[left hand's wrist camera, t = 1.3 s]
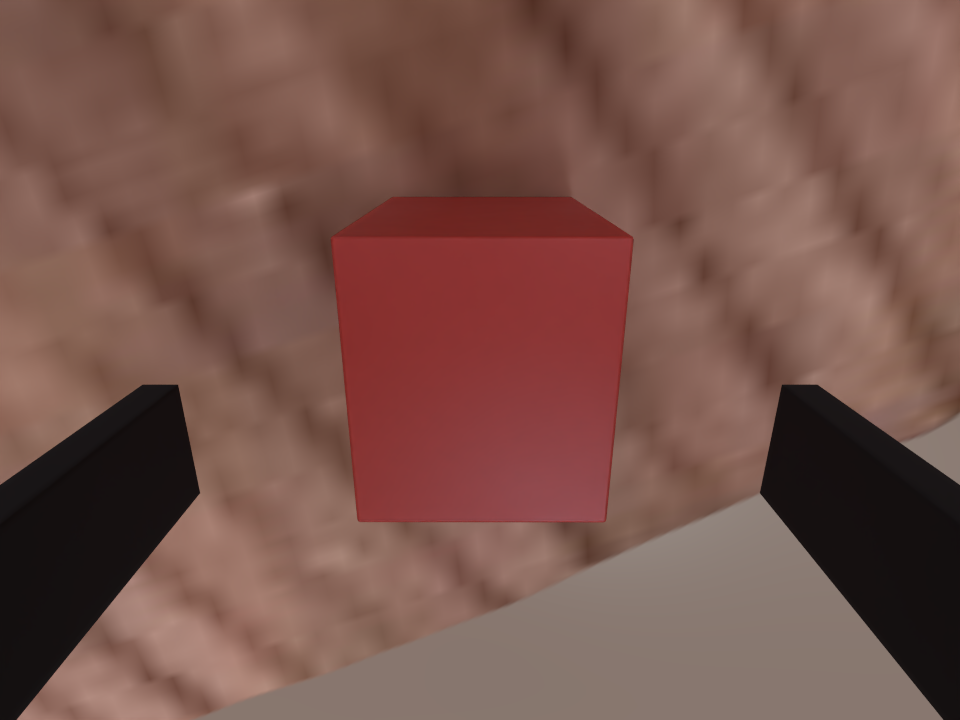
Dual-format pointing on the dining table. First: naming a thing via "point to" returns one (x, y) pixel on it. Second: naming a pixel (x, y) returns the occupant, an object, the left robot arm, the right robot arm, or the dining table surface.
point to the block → (482, 357)
